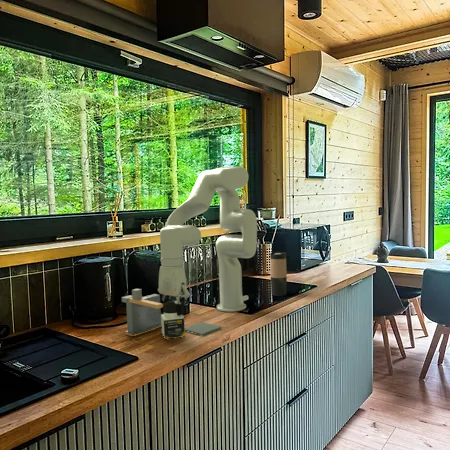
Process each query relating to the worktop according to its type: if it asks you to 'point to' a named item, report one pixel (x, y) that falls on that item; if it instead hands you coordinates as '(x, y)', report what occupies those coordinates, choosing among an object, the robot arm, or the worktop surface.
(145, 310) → the rail
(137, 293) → the bar
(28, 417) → the worktop surface
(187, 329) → the slate coaster
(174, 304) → the medicine bottle
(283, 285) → the travel mug
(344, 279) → the worktop surface
